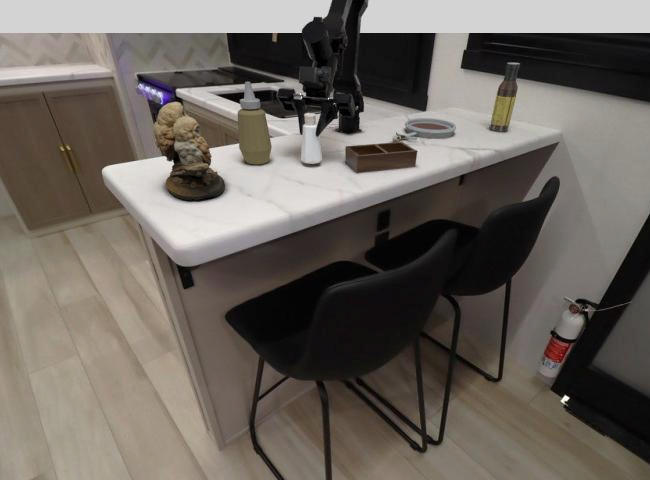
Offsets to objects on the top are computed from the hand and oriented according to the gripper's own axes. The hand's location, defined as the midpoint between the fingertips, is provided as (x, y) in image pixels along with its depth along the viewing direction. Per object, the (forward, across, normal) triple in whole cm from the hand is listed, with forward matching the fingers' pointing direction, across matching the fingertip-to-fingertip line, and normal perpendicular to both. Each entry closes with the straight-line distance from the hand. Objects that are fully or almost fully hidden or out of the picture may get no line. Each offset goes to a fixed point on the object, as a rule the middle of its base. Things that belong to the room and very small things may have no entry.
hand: (308, 134), depth 91 cm
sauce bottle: (-35, +48, +47) cm, 76 cm away
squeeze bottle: (+6, -14, +4) cm, 16 cm away
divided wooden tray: (0, +17, +11) cm, 20 cm away
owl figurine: (+21, -18, -10) cm, 30 cm away
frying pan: (-23, +23, +35) cm, 48 cm away
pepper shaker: (+4, 0, +6) cm, 7 cm away
